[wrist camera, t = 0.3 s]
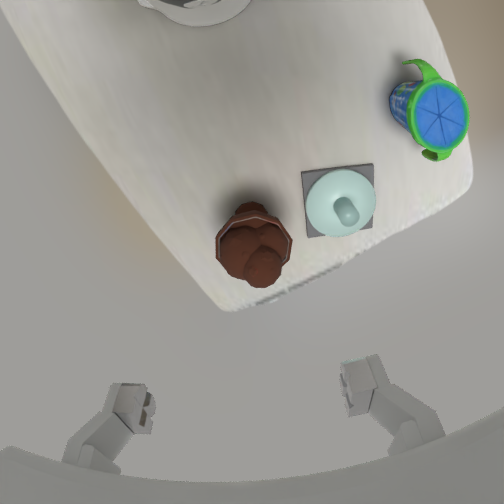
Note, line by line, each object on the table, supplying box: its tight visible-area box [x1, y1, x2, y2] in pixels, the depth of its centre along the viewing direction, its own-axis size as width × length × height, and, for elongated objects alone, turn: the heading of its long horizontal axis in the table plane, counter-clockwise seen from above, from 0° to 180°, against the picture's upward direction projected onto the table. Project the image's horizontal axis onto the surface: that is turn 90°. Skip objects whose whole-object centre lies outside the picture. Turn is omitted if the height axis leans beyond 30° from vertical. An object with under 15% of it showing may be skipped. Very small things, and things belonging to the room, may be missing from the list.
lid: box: [305, 169, 376, 237], centre depth 47 cm, size 12×12×5 cm
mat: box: [301, 164, 374, 238], centre depth 49 cm, size 12×12×1 cm
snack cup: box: [389, 59, 469, 161], centre depth 35 cm, size 16×10×10 cm
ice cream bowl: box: [216, 202, 292, 288], centre depth 45 cm, size 11×11×15 cm
